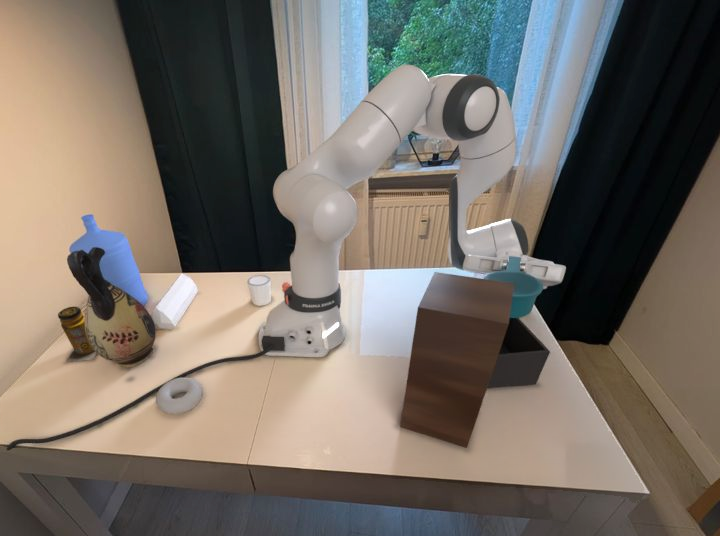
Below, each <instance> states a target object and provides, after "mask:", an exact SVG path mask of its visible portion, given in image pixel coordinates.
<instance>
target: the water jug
mask: <svg viewBox="0 0 720 536" xmlns="http://www.w3.org/2000/svg"><path fill="white" fill-rule="evenodd" d="M80 219H81V220H82V222H83V226H84V228H85V230H86V232H85V233H84V234H83V235H81V236H80V237H79V238H78V239H75V241H73V242H72V243H71V244H70V246H69V249H68V251H69V253H70V254H71V253H72V252H74V251H80V250H83V251H85V252H86V253H89V251H90V250H91V249H92V248H93V247H98V248H102V249H104V251H105V254H104V255H103V257H102V258H101V260H100V264H99V265H100V270H101V273H102V276H103V278H104V279H105V280H107V281H108V282H110V283H111V284H112V285H114V286H116V287H118V288H120V289H122V290H123V291H125V292H126V293H128V294H129V295H131V296H132V297H134V298H135V299H136V300H138V301H139V302H140V303H141V304H142V305H143V306H144V307H145V305H146V304H147V302H148V301H149V295H148V292H147V290H146V288H145V285H144V282H143V279H142V277H141V273H140V270H139V268H138V266H137V263H136V261H135V258H134V255H133V253H132V249H131V245H130V242H129V240H128V238H127V236H126V234H124V233H122V232H119V231H114V230H107V229H100V227H98V224H97V221H96V220H95V215H94V214H91V213H90V214H85V215H83V216H80ZM81 265H82V264H81ZM82 268H83V267H82Z"/></svg>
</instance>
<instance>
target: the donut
mask: <svg viewBox="0 0 720 536" xmlns="http://www.w3.org/2000/svg"><path fill="white" fill-rule="evenodd" d="M172 379H173V378H172ZM170 380H171V379H170ZM168 381H169V380H168ZM168 381H166V382H167V383H166V382H165V383H166V384H164V383H163V384H164V385H163V386H162V387H161V388H160V389H159V391H158V392H156V395H155V404H156V406H157V408H158V410H160V411H161V412H162V413H165V414H167V415H181V414H186V413H187V412H189V411H191V410H193V409H194V408H195V407H197V406H198V404H199V403H200V401H201V399H202V396H203V388H202V386H201V385H200V383H199V381H197V380H195V379H193V378H191V377H183V378H176V379H173V380H171V381H169V382H168ZM180 393H185V394H184V395H183V396H181V397H177V398H173V397H175V396H176V395H179V394H180Z"/></svg>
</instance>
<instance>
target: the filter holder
mask: <svg viewBox="0 0 720 536" xmlns="http://www.w3.org/2000/svg"><path fill="white" fill-rule="evenodd" d="M520 264H521V257H513V256H509V258H508V264H507V268H506V271H496V272H492V273H489V274H488V275H485V276H484V277H483V279H487V280H494V281H501V282H508V283H514V290H513V297H512V304H511V311H510V318H519V319H520V318H524V317H526V316H528V315H530V314H531V313H532V311H533V308H534V306H535V303H536V300H537V297H538V296H539V295H540V294H542V291H543V290H544V289H543V284H542V283H541V281H540V280H538V279H537V278H535V277H533V276H531V275H529V274H525V273H522V272H520Z"/></svg>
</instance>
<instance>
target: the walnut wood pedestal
mask: <svg viewBox="0 0 720 536" xmlns="http://www.w3.org/2000/svg"><path fill="white" fill-rule="evenodd" d="M513 290H514V283H508V282H501V281H494V280H487V279H484V278H480V277H473V276H465V275H458V274H451V273H445V272H444V273H443V272H437V271H434V273H433V275H432V277H431V279H430V281H429V283H428V285H427V287H426V290H425V292H424V294H423V296H422V297H421V301H420V302H419V304H418V306H417V311H416V318H415V324H414V332H413V337H412V343H411V350H410V359H409V365H408V371H407V377H406V378H407V379H406V384H405V390H404V398H403V404H402V410H401V417H400V423H399V428H402V429H405V430H409V431H412V432H414V433H418V434H421V435H425V436H427V437H431V438H433V439H436V440H441V441H443V442H445V443H449V444H453V445H455V446H459V447H463V448H465V449H467V448H468V447H469V443H470V440H471V437H472V434H473V431H474V429H475V425H476V423H477V419H478V416H479V414H480V410H481V408H482V405H483V402H484V399H485V397H486V396H485V395H486V393H487V390H488V389H487V387H488V384H489V381H490V378H491V375H492V372H493V369H494V366H495V363H496V360H497V357H498V354H499V351H500V348H501V345H502V342H503V339H504V336H505V333H506V330H507V327H508V324H509V318H510V311H511V304H512V297H513Z"/></svg>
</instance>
